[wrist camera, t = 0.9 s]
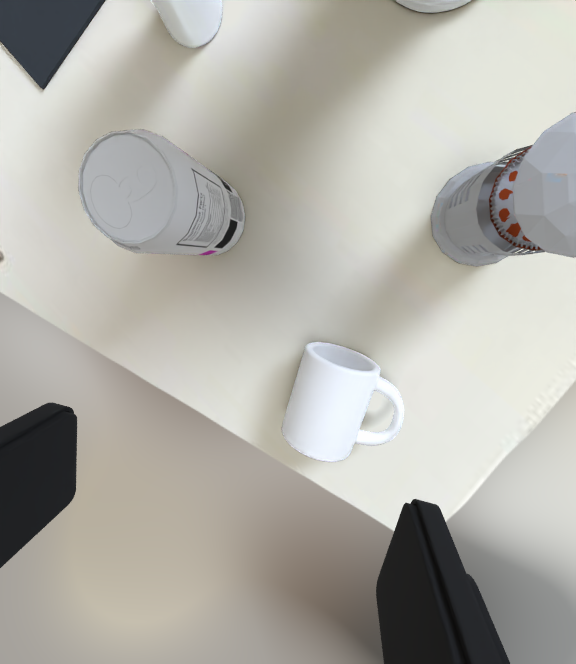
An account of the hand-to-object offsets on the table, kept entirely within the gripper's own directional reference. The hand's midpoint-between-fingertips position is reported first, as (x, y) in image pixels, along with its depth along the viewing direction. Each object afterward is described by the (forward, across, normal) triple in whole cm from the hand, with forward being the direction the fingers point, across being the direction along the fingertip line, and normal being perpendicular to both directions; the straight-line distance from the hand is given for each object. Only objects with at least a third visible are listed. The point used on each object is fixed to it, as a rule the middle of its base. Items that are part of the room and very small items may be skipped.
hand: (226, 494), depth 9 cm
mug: (+29, -6, +8) cm, 31 cm away
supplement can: (+29, +13, -8) cm, 33 cm away
